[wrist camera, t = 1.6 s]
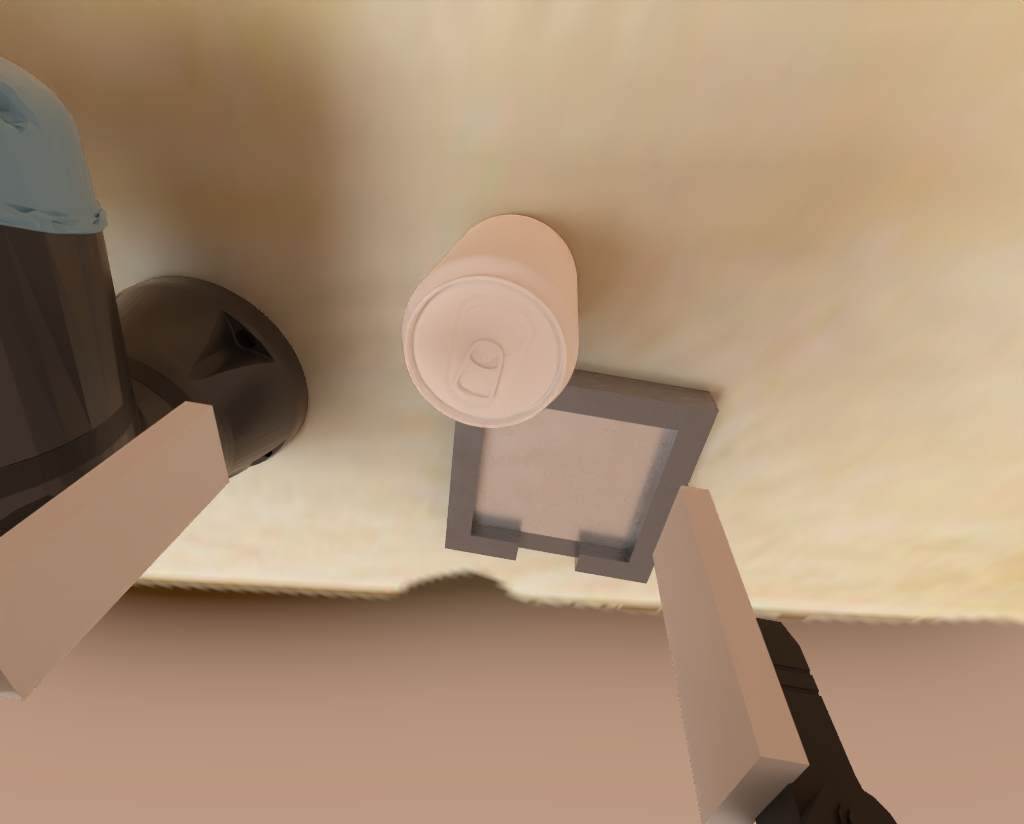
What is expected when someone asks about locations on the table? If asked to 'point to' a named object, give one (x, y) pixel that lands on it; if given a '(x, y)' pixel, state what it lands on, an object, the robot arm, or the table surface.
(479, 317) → the beverage can
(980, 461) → the table surface
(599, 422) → the chassis pocket
